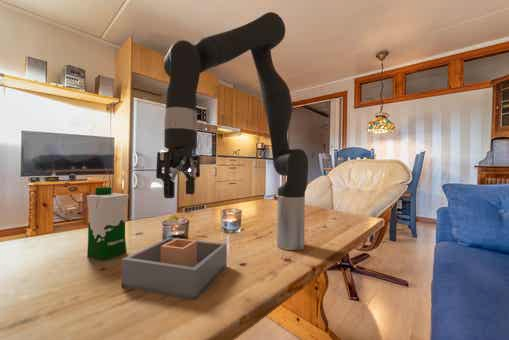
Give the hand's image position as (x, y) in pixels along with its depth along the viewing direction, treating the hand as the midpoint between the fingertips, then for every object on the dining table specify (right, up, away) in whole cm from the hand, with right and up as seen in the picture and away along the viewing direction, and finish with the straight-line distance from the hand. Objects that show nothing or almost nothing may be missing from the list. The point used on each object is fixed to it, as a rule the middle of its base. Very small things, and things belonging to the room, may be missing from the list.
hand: (180, 196), depth 53 cm
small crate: (0, -19, 0) cm, 19 cm away
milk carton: (-26, -19, +12) cm, 34 cm away
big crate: (0, -19, 0) cm, 19 cm away
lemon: (-14, -20, +31) cm, 39 cm away
